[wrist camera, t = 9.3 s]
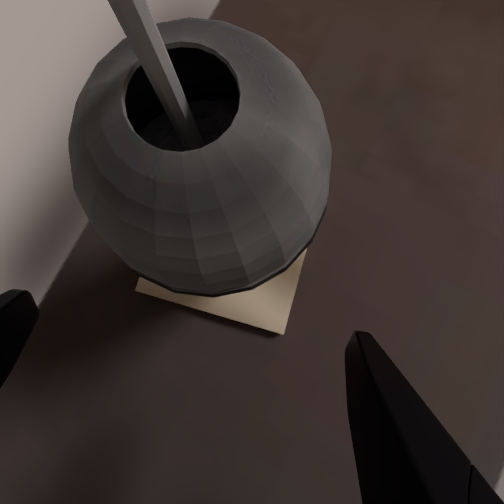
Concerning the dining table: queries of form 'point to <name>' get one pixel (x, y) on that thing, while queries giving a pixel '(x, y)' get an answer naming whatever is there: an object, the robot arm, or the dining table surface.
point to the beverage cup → (199, 154)
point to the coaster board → (243, 300)
